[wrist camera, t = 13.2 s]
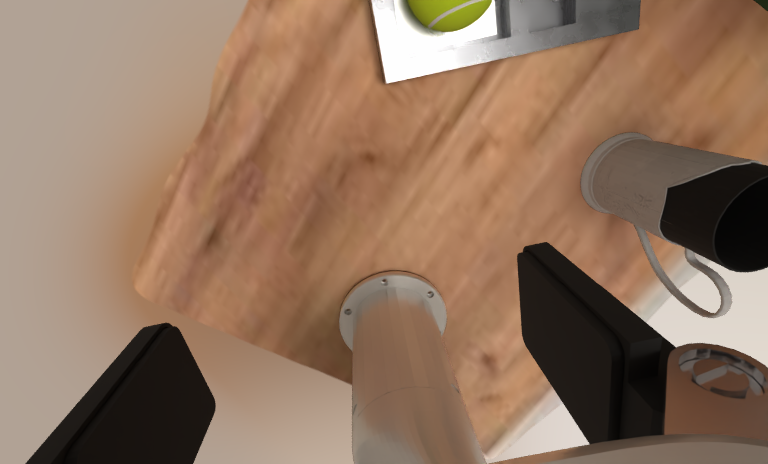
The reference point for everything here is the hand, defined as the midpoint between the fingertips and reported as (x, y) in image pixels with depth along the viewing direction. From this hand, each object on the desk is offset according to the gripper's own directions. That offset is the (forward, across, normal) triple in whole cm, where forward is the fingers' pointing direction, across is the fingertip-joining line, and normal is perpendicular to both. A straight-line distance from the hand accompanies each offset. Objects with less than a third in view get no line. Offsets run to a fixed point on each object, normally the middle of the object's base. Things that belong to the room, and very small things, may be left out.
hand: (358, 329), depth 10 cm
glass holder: (+28, -27, +11) cm, 41 cm away
